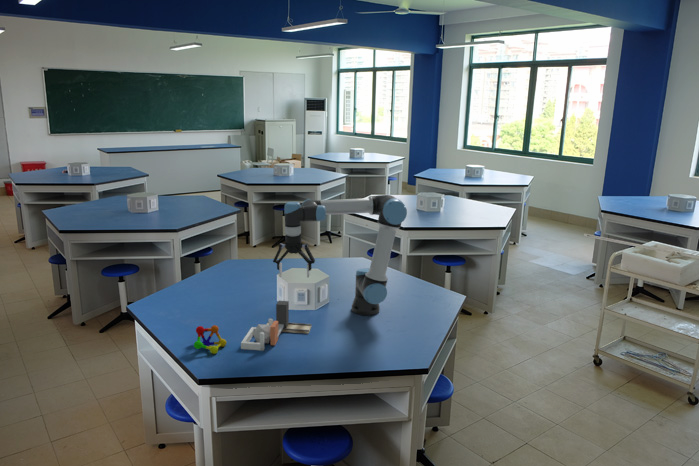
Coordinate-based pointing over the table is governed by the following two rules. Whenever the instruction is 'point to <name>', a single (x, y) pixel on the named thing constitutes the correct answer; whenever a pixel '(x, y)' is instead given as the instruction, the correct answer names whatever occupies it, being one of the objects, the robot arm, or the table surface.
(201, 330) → the molecular model
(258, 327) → the die
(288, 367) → the table surface
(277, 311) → the rod
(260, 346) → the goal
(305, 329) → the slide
